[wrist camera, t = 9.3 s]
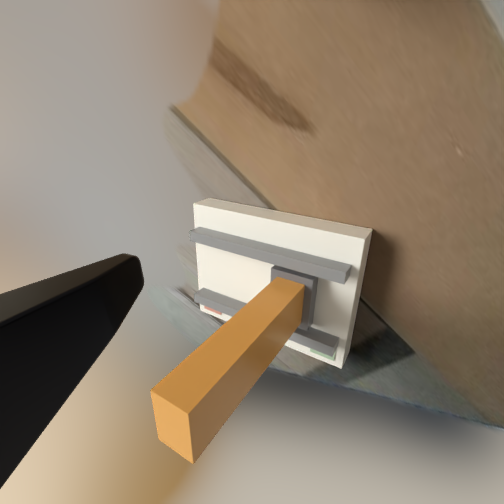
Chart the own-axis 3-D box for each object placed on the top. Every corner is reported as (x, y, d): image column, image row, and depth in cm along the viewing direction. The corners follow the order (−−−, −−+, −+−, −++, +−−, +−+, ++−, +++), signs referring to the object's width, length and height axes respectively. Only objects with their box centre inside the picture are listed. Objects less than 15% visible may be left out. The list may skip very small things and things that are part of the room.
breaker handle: (318, 273, 20) (197, 411, 11) (312, 323, 22) (203, 478, 13) (277, 262, 22) (140, 375, 12) (275, 309, 23) (152, 440, 14)
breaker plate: (372, 229, 20) (359, 246, 17) (349, 351, 24) (336, 380, 21) (209, 197, 26) (182, 207, 23) (213, 299, 30) (191, 317, 27)
